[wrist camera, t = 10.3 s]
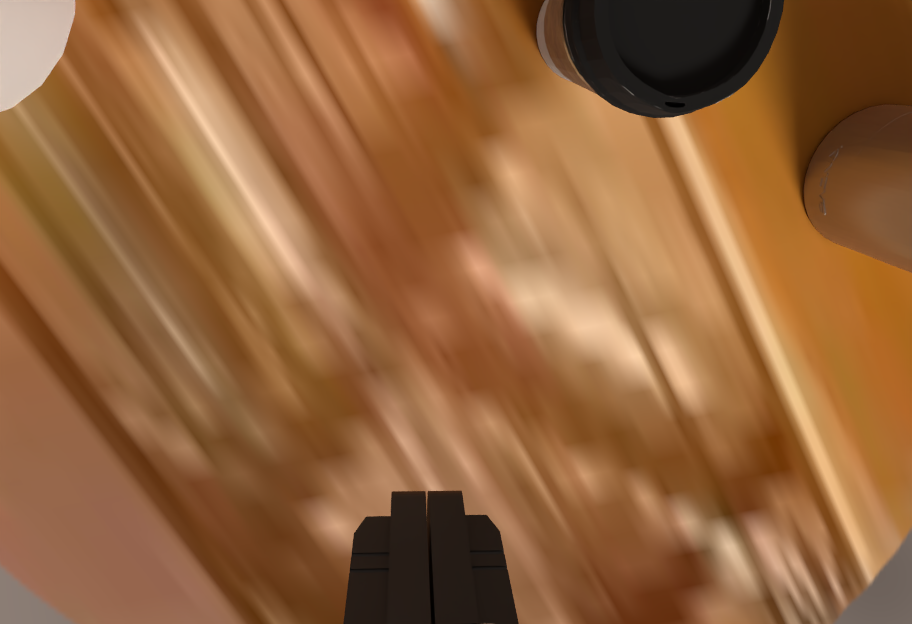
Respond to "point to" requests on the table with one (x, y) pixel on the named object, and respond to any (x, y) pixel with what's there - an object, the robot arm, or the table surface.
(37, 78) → the grey piece
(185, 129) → the table surface
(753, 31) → the coffee cup
